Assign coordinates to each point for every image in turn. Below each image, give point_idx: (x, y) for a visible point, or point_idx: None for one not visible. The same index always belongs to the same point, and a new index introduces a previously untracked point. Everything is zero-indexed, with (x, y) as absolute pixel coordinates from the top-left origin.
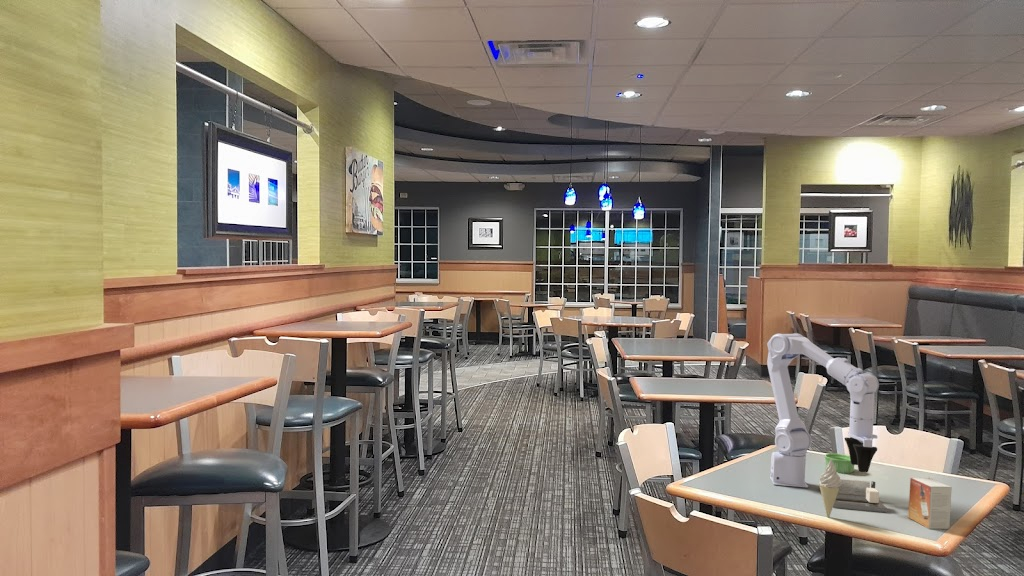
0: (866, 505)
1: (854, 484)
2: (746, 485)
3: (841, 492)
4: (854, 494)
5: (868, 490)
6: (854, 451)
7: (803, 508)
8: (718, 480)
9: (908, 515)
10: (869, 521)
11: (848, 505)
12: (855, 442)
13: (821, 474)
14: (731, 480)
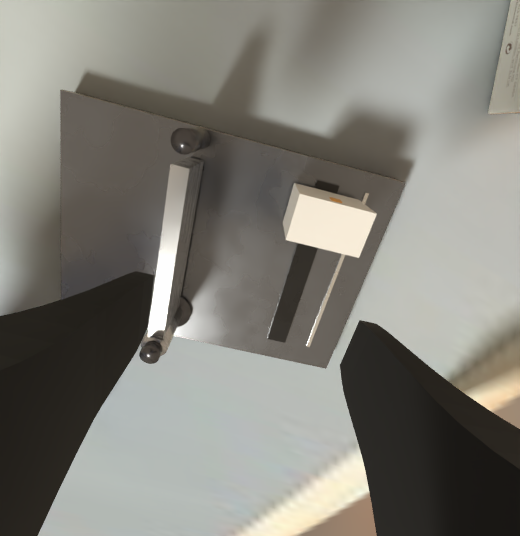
0: (361, 259)
1: (182, 245)
2: (109, 492)
3: None
4: (195, 228)
5: (330, 249)
6: (89, 392)
7: (330, 437)
8: (78, 532)
9: (495, 113)
10: (483, 308)
11: (344, 322)
12: (14, 503)
13: None
14: (65, 508)
